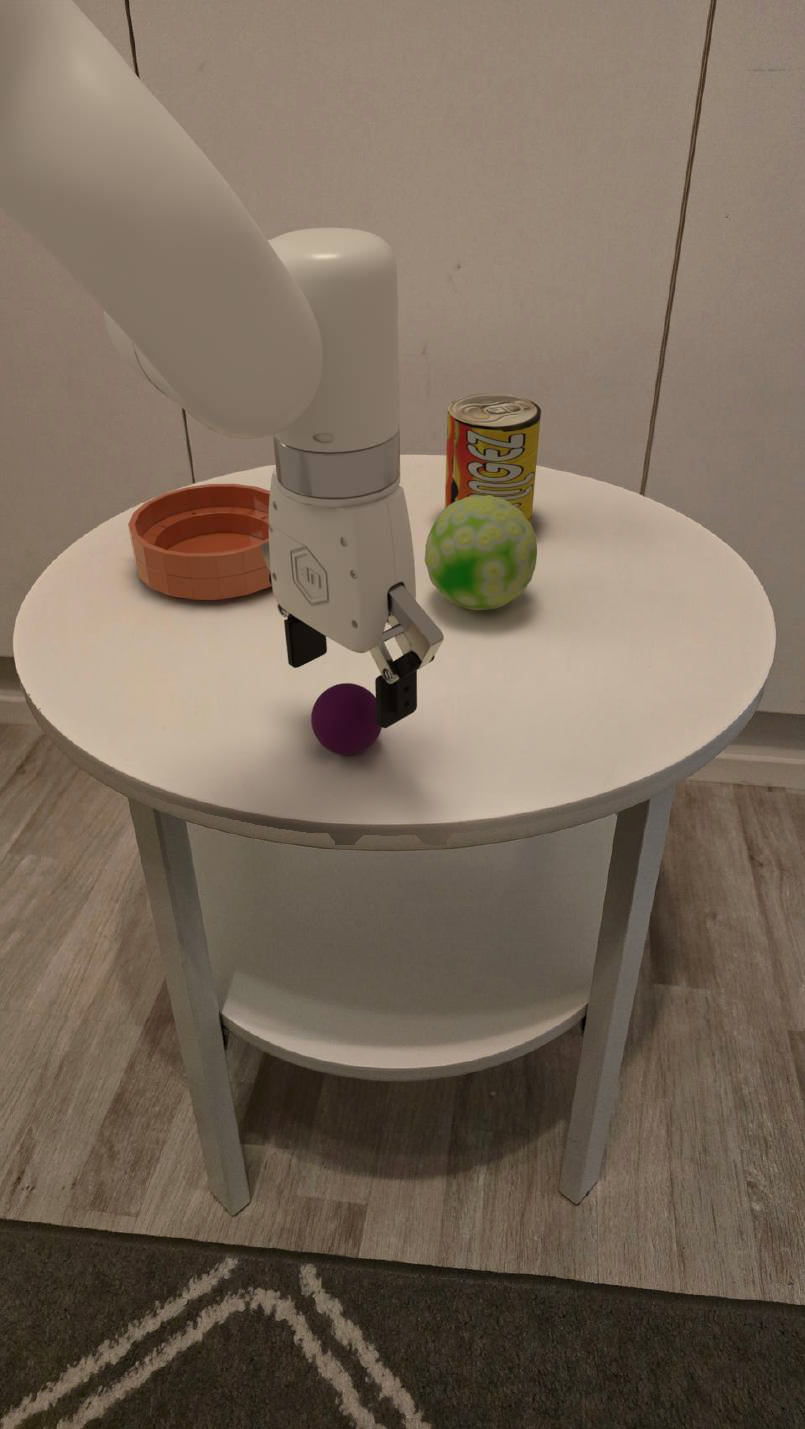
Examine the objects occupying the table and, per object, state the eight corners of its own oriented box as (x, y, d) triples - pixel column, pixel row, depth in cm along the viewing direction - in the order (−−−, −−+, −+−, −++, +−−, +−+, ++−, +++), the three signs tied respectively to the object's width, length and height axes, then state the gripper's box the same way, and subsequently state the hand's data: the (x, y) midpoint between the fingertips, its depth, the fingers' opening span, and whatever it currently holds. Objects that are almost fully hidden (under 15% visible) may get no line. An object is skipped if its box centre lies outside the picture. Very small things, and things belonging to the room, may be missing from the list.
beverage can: (428, 516, 103) (430, 403, 96) (499, 498, 107) (506, 388, 100) (474, 551, 97) (480, 433, 90) (548, 530, 101) (560, 416, 93)
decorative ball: (517, 572, 94) (525, 473, 88) (545, 627, 86) (555, 522, 80) (415, 579, 93) (416, 479, 86) (433, 636, 85) (436, 530, 79)
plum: (326, 777, 70) (322, 719, 67) (303, 735, 74) (299, 678, 71) (394, 759, 72) (393, 701, 68) (368, 719, 75) (366, 662, 72)
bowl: (184, 623, 86) (176, 573, 83) (111, 558, 96) (101, 511, 93) (327, 572, 94) (325, 524, 91) (246, 516, 103) (241, 471, 100)
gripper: (205, 435, 62) (236, 658, 73) (387, 525, 52) (393, 769, 63) (298, 405, 66) (316, 621, 77) (485, 483, 56) (475, 719, 67)
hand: (350, 687), depth 70 cm, fingers open, 9 cm apart
